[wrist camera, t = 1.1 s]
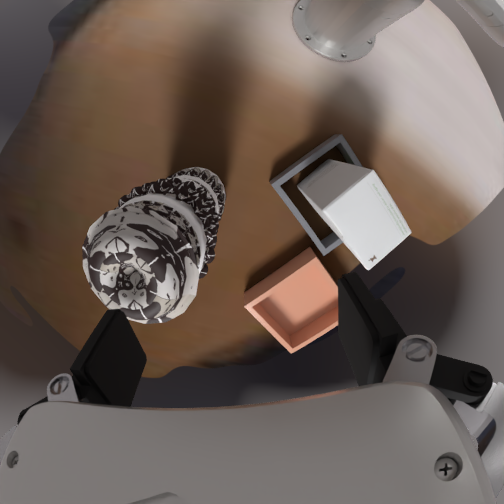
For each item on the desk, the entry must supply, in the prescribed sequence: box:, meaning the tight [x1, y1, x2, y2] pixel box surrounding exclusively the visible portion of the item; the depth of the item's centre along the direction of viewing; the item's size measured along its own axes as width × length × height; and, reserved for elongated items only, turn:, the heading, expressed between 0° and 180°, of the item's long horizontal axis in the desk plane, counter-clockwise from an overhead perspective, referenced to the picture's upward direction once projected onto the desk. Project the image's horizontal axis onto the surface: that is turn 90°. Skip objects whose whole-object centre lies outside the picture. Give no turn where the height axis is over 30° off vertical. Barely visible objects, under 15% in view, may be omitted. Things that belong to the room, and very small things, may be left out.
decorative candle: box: [83, 167, 226, 324], centre depth 26 cm, size 9×9×25 cm
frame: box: [269, 134, 362, 256], centre depth 37 cm, size 12×13×3 cm
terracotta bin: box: [244, 247, 338, 353], centre depth 43 cm, size 13×13×4 cm
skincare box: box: [297, 159, 411, 270], centre depth 31 cm, size 8×7×16 cm
